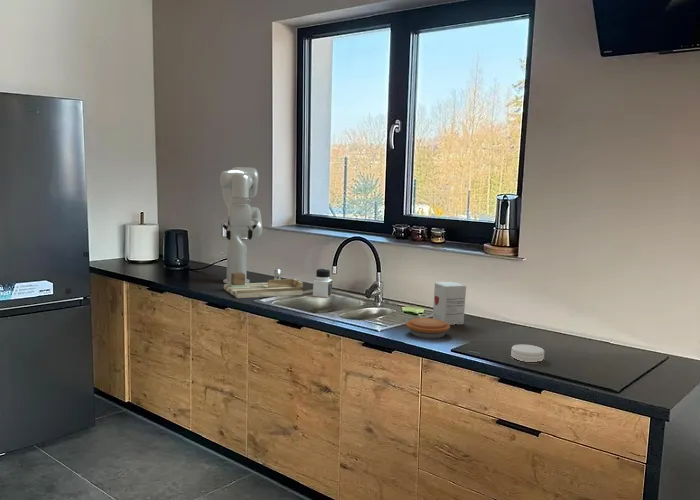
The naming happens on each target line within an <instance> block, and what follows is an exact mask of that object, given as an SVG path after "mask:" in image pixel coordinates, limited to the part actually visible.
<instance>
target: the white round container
mask: <svg viewBox="0 0 700 500" xmlns="http://www.w3.org/2000/svg"><path fill="white" fill-rule="evenodd" d="M510 353H511V354H510V357H511V356H512V357H513V358H515V359H517V360H520V361H525V362H537V361H542V360H543V359H544V360H545V350H544V349H543V347H539V346H537V345H532V344H514V345H513V346H512V347H511V351H510ZM512 357H511V358H512ZM513 358H512V359H513ZM520 361H519V362H520Z"/></svg>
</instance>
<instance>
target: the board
mask: <svg viewBox="0 0 700 500" xmlns="http://www.w3.org/2000/svg"><path fill="white" fill-rule="evenodd" d="M246 285H247V287H237V288H232V287H230V286H229V285H228V284H226V283H224V284H223V289H224V290H225V291H226V292H228V293H229V294H231V295H232V296H234V297H235V298H237V299H244V298H245V299H247V298H265V297H266V298H267V297H281V296H283V297H284V296H285V297H286V296H287V297H288V296H301V295H303V291H304V288H303V287H304V282H303V281H300V280H298V279H295V278H286V279H284V278H283V279H282V278H280V279H279V280H274V279H267V282H255V283H253V282H252V283H251V282H249V283H247V284H246Z"/></svg>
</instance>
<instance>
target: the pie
mask: <svg viewBox="0 0 700 500" xmlns="http://www.w3.org/2000/svg"><path fill="white" fill-rule="evenodd" d="M405 326H406V327H407V328H408V330H409V332H410V333H412V334H413V335H412V334H411V335H412V336H414V335H415V336H414V337H416V336H418V337H417V338H420V337H422V338H421V339H429V338H435V339H440V337H441V338H443V337H444V336H445V335H446V333H447V331H449V330H450V328H451V325H449V324H447V323H445V322H444V321H442V320H438V319H433V317H432V318H431V317H417V318H416V317H415V318H413V319H410V320H409V321H406V323H405Z"/></svg>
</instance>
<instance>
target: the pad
mask: <svg viewBox="0 0 700 500" xmlns="http://www.w3.org/2000/svg"><path fill="white" fill-rule="evenodd" d="M228 285H229V286H230V287H232V288H237V287H247V285H246V284H245V285H237V286H234V285H232V284H231V283H228Z"/></svg>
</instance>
